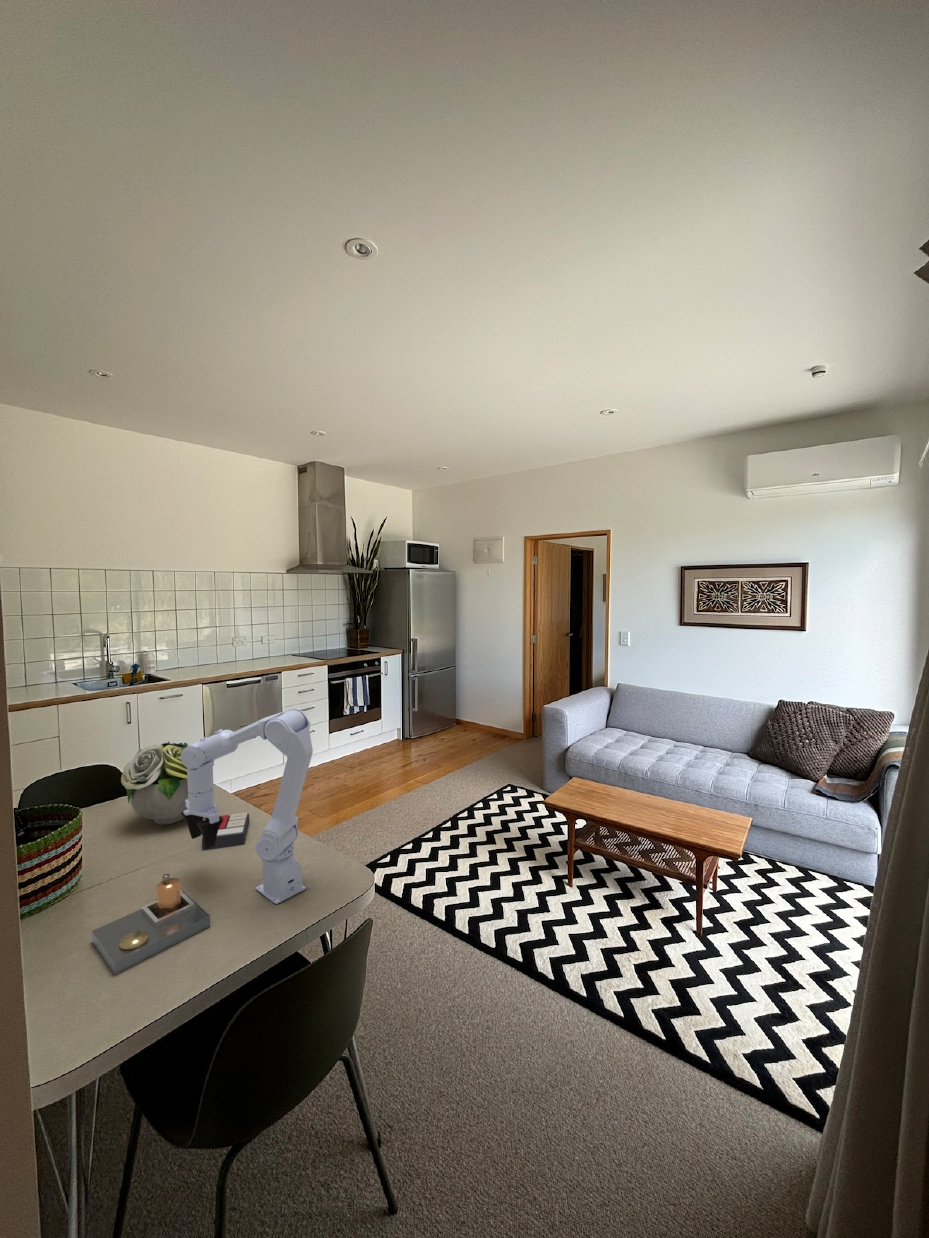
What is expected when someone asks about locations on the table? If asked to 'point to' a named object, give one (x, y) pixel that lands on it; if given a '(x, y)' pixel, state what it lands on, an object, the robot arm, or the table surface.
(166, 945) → the grey peg holder base
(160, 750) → the flower arrangement
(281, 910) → the table surface
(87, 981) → the table surface
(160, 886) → the copper cylinder
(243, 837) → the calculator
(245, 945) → the table surface
